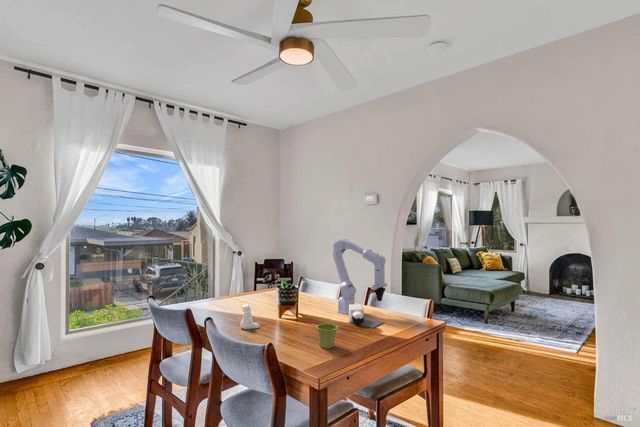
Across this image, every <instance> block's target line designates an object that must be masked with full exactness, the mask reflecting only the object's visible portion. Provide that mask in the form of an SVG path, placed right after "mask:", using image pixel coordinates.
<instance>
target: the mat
mask: <svg viewBox="0 0 640 427" xmlns="http://www.w3.org/2000/svg"><path fill="white" fill-rule="evenodd" d="M348 324H352V325H355V324H354V323H353V322H350V321H348ZM384 324H385V321H383V320H377V319H374V318H373V319H372V318H368V317H364V321H363V323H362V324H360V325H359V326H362V327H366V328H371V329H375V328H377V327H379V326H380V325H384Z"/></svg>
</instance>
